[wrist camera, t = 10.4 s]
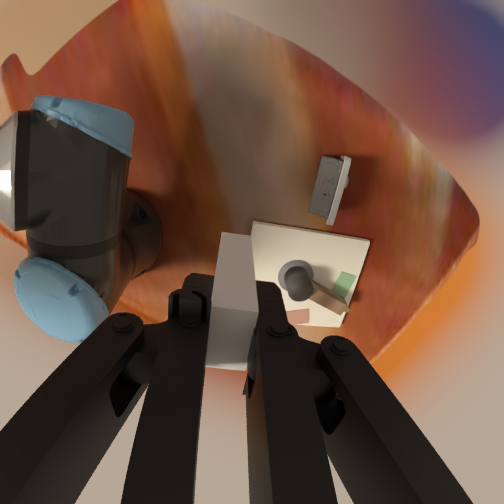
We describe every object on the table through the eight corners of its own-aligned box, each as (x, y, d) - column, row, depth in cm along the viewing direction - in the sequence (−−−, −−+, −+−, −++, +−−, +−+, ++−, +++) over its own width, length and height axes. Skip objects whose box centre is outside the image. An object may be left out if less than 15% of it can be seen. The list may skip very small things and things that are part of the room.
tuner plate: (236, 316, 52) (236, 321, 51) (252, 220, 45) (253, 223, 44) (337, 325, 54) (339, 329, 53) (367, 239, 47) (371, 242, 46)
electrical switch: (330, 212, 45) (344, 230, 36) (299, 204, 45) (307, 221, 36) (345, 156, 41) (364, 161, 33) (314, 147, 41) (325, 149, 33)
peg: (279, 280, 48) (282, 294, 44) (293, 262, 47) (298, 275, 43) (338, 312, 51) (345, 327, 47) (352, 296, 50) (360, 310, 46)
